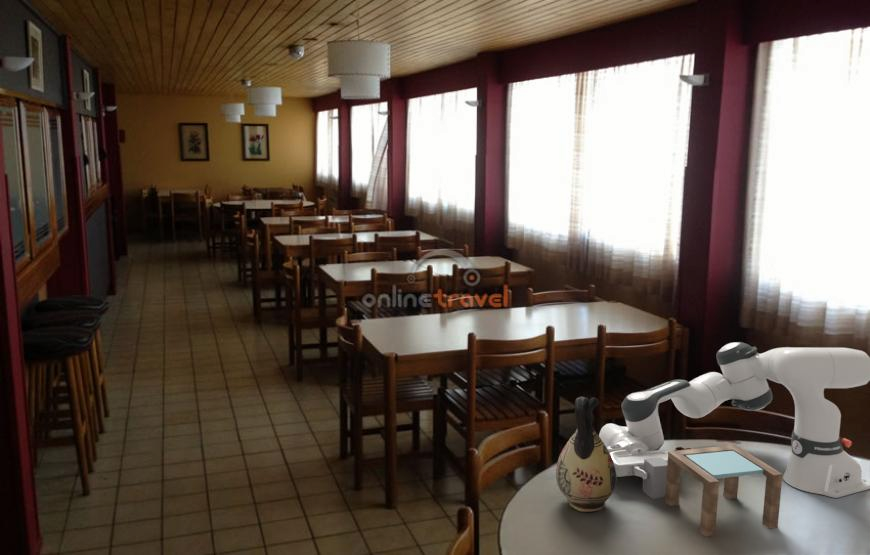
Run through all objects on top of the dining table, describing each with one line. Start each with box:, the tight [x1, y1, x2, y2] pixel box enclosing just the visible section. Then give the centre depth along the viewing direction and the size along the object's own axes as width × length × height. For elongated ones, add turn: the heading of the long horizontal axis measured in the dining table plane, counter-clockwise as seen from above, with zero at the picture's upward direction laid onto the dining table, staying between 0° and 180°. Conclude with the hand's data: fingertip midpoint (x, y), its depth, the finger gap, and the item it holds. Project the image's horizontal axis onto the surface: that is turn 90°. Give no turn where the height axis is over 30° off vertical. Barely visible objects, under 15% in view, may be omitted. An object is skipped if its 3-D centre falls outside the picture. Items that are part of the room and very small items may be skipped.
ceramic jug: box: [555, 396, 617, 512], centre depth 189 cm, size 17×15×30 cm
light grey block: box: [642, 457, 668, 499], centre depth 198 cm, size 5×5×9 cm
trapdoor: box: [685, 451, 763, 480], centre depth 185 cm, size 14×12×1 cm
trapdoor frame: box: [664, 444, 784, 537], centre depth 186 cm, size 20×18×14 cm
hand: (658, 475), depth 197 cm, fingers closed on light grey block, 5 cm apart
